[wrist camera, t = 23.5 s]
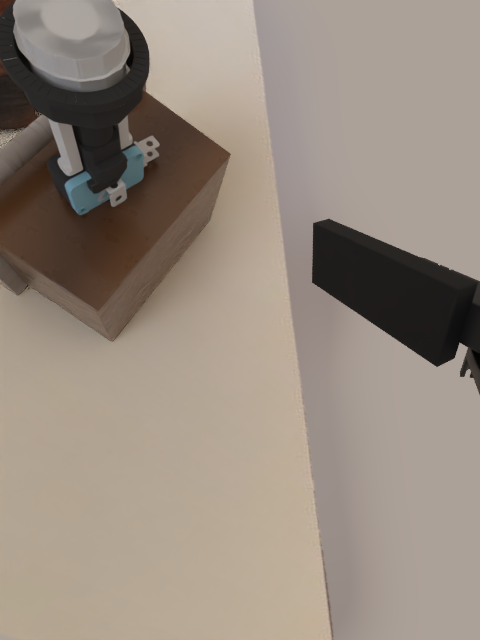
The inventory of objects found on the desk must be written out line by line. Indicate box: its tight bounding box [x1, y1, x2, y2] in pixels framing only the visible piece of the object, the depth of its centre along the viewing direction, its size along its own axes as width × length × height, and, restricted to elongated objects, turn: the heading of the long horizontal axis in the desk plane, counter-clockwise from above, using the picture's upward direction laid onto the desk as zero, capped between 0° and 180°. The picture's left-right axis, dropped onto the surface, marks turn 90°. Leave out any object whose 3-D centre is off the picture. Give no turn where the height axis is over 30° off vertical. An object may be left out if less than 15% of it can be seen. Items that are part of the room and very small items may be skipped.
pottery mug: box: [0, 0, 36, 130], centre depth 30 cm, size 12×10×8 cm
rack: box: [0, 64, 231, 341], centre depth 25 cm, size 9×16×12 cm, turn 149°
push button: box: [0, 0, 160, 215], centre depth 18 cm, size 7×5×10 cm
